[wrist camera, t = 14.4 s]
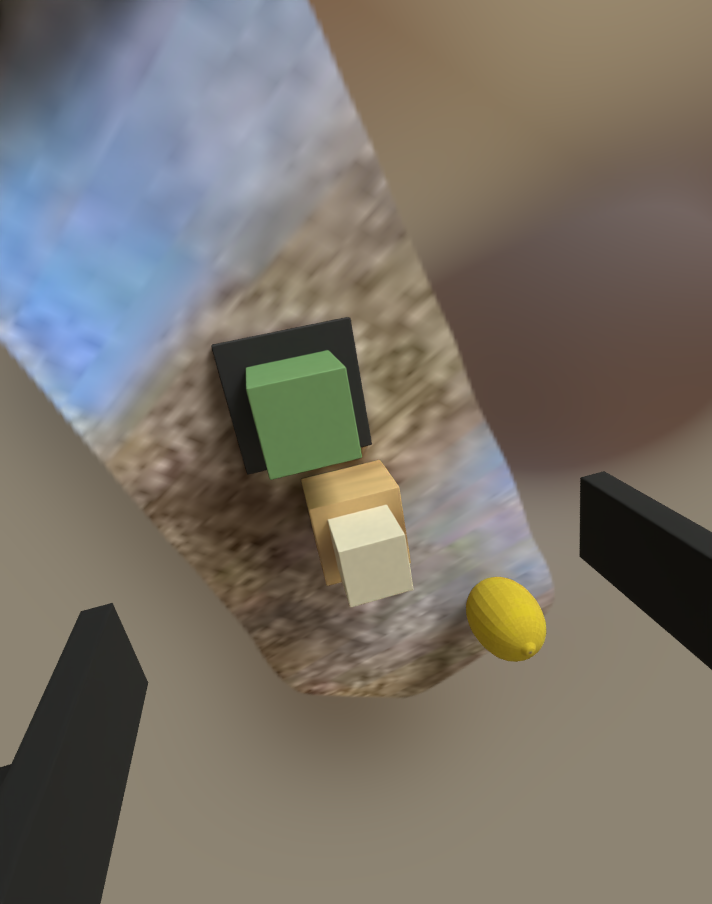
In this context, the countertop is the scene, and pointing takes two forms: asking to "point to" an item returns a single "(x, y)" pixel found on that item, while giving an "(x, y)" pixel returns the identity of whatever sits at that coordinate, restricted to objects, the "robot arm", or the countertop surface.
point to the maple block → (348, 504)
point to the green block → (303, 413)
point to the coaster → (275, 348)
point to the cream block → (370, 555)
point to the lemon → (506, 619)
